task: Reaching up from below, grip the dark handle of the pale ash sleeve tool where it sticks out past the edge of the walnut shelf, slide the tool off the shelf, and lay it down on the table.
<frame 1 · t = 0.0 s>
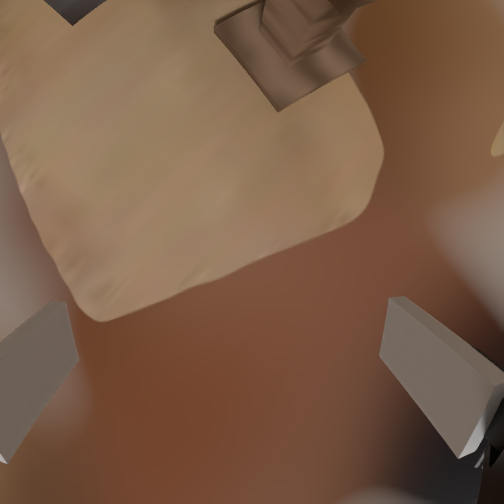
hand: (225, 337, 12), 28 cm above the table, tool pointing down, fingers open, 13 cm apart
stand: (289, 45, 34), on the table
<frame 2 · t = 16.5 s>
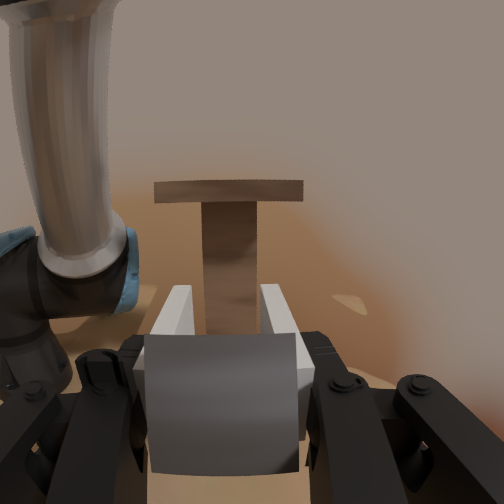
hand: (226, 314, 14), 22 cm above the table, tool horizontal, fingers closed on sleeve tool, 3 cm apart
stand: (233, 385, 42), on the table
sleeve tool: (230, 397, 16), point 17 cm above the table, tilted 30°, touching gripper
when the fingers open (14 cm above the table, at t = 19.2 s): sleeve tool drops 9 cm, on the table.
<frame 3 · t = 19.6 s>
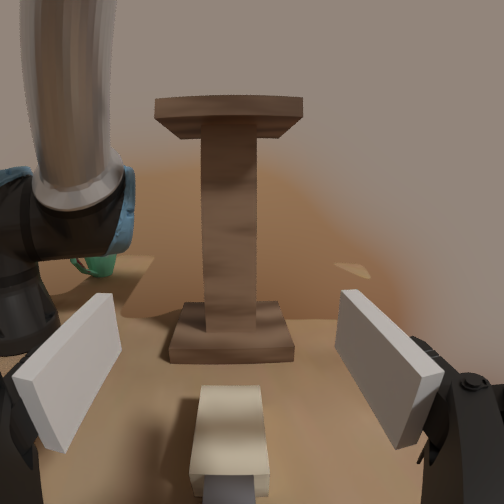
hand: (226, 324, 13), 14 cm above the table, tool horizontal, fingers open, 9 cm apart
mug: (96, 278, 64), on the table
stand: (231, 335, 41), on the table
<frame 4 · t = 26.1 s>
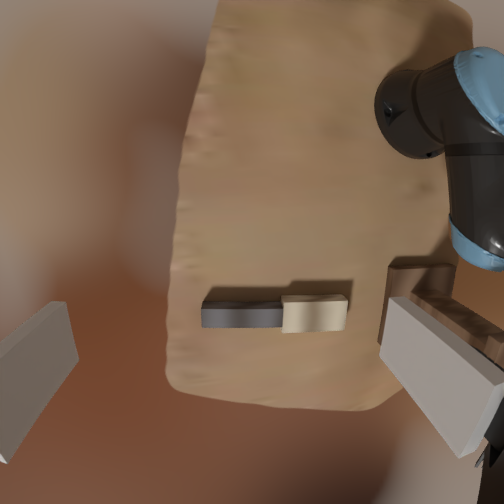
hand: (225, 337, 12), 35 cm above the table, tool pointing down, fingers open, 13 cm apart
stand: (415, 302, 51), on the table
sleeve tool: (273, 310, 49), on the table
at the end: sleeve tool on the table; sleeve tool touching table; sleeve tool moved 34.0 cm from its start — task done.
